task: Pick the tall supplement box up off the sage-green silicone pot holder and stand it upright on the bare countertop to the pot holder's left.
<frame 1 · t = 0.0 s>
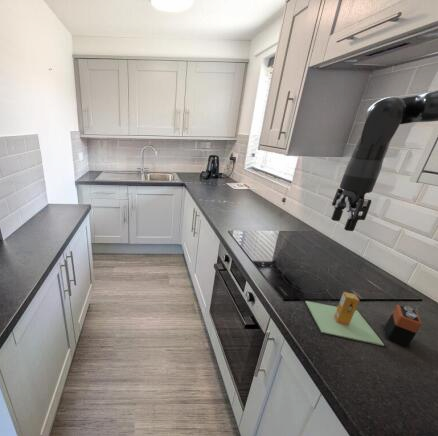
hand: (341, 225, 73), 30 cm above the worktop, tool pointing down, fingers open, 8 cm apart
battery: (395, 336, 70), on the worktop
pot holder: (340, 321, 75), on the worktop
supplement box: (340, 320, 75), resting on pot holder
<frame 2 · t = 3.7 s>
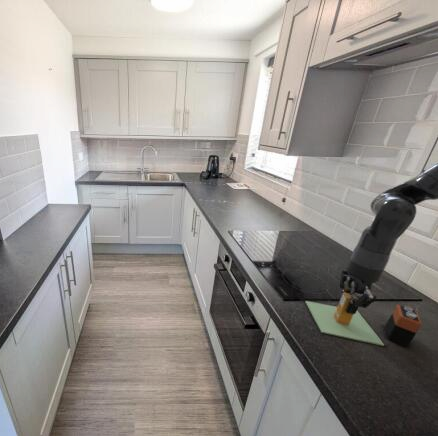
hand: (346, 307, 73), 6 cm above the worktop, tool pointing down, fingers closed on supplement box, 3 cm apart
supplement box: (340, 320, 75), resting on pot holder, touching gripper
everything else where it was.
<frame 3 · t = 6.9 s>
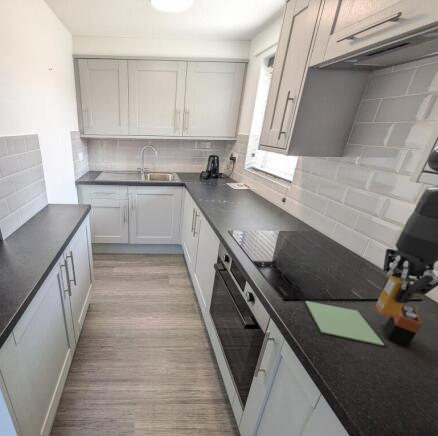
hand: (394, 295, 57), 20 cm above the worktop, tool pointing down, fingers closed on supplement box, 3 cm apart
supplement box: (384, 312, 60), point 14 cm above the worktop, touching gripper
everything else where it was.
when the fingers open (5 cm above the worktop, at t = 10.6 s): supplement box stays where it is, on the worktop.
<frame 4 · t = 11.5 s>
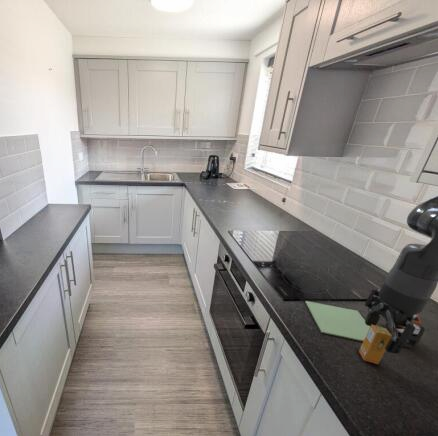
hand: (379, 337, 60), 8 cm above the worktop, tool pointing down, fingers open, 8 cm apart
supplement box: (367, 358, 63), on the worktop
everything else where it was.
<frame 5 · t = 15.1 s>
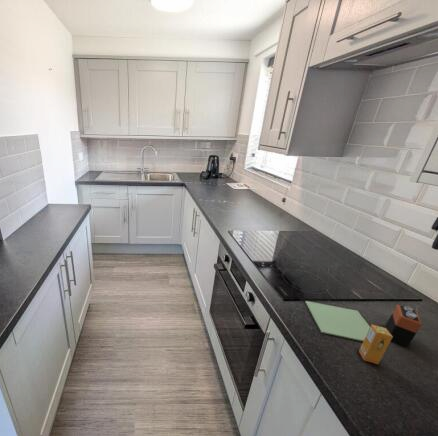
nothing on the worktop moved.
at the end: supplement box inside the target area (0.2 cm from its centre), on the worktop; supplement box touching worktop; supplement box tilted 0° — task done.
